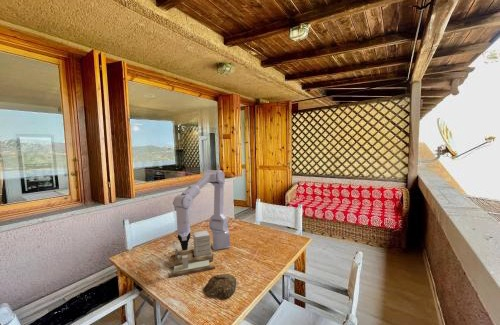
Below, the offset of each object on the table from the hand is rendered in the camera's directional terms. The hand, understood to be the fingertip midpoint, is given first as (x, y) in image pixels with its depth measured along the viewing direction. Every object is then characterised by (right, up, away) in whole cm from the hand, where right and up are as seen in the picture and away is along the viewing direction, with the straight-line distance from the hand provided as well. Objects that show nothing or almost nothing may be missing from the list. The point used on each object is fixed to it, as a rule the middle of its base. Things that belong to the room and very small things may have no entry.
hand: (184, 249), depth 101 cm
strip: (+3, -9, +1) cm, 10 cm away
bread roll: (+18, -10, -14) cm, 25 cm away
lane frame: (+1, -9, +7) cm, 11 cm away
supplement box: (+6, -9, +12) cm, 16 cm away
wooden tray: (+1, -9, +10) cm, 13 cm away
